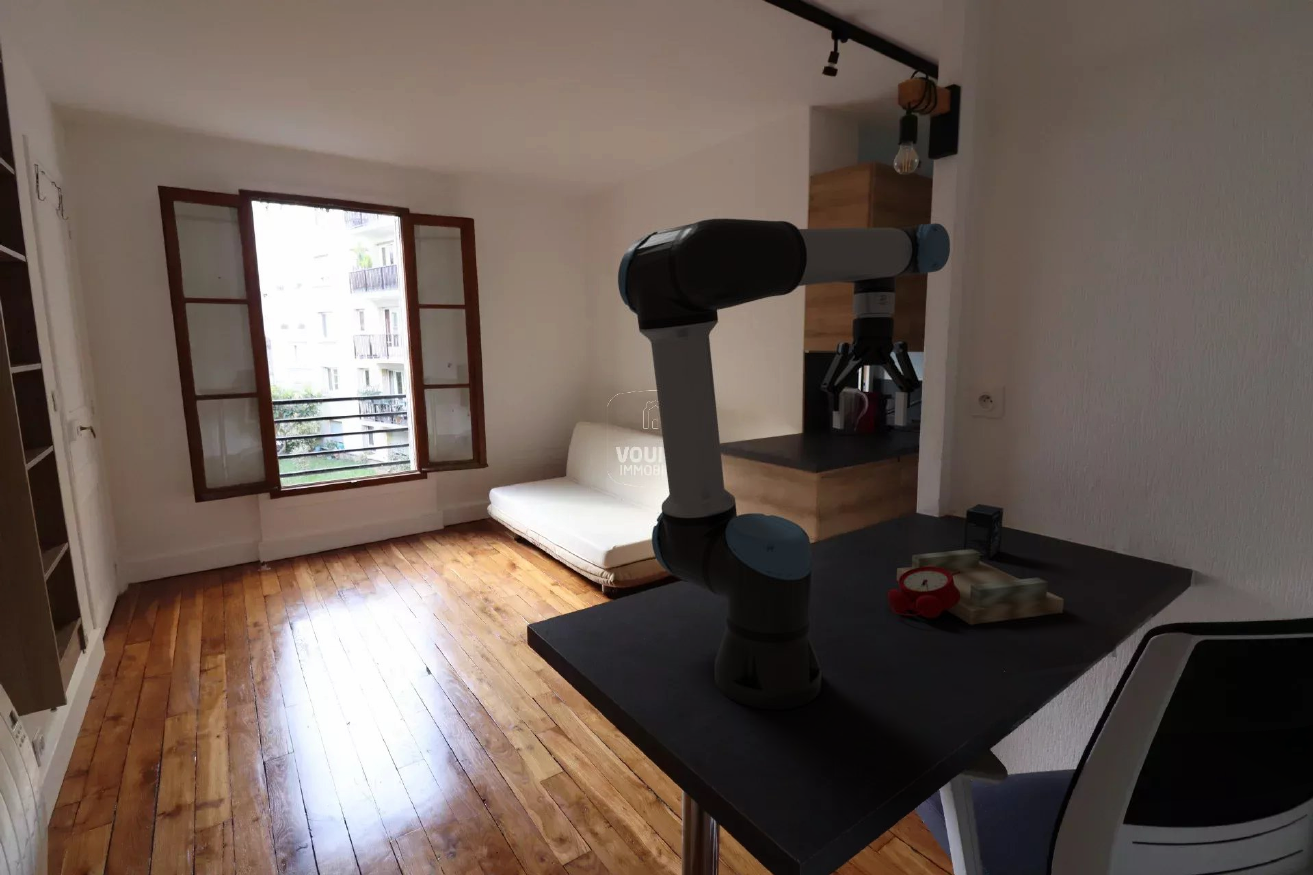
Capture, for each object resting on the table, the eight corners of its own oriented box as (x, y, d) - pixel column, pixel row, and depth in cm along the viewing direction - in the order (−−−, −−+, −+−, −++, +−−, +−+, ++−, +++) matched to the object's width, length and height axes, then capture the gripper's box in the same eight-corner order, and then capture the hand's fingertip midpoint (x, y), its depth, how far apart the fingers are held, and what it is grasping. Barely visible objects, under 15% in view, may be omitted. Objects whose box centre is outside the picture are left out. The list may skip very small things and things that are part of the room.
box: (989, 560, 136) (992, 514, 134) (962, 554, 140) (965, 509, 138) (1001, 551, 141) (1004, 507, 140) (974, 546, 145) (977, 503, 144)
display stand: (970, 624, 105) (972, 594, 104) (896, 580, 125) (897, 554, 124) (1062, 612, 109) (1065, 582, 108) (976, 571, 129) (978, 546, 128)
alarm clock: (969, 568, 111) (930, 591, 101) (971, 602, 111) (933, 627, 101) (913, 561, 119) (872, 581, 109) (916, 592, 119) (876, 615, 109)
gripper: (823, 316, 111) (820, 431, 114) (943, 315, 116) (937, 426, 119) (804, 318, 118) (802, 426, 121) (918, 317, 124) (913, 421, 127)
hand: (869, 426), depth 120 cm, fingers open, 13 cm apart
